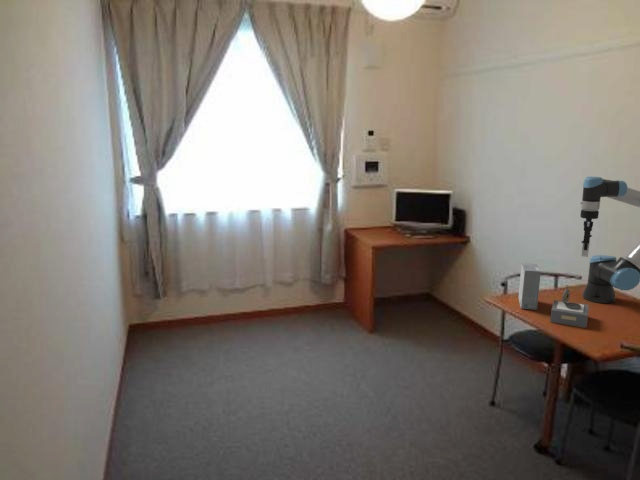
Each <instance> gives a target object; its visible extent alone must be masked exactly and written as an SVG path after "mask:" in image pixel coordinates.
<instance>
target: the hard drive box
mask: <svg viewBox="0 0 640 480" xmlns="http://www.w3.org/2000/svg"><path fill="white" fill-rule="evenodd" d="M541 274H542V271H541V270H540V268H539V266H538V264H537V263H530V262H529V263H527V262H521V266H520V277H519V287H518V288H519V289H518V301H519V306H520V309H522V310H535V311H537V310H538V303H539V293H540V283H541Z"/></svg>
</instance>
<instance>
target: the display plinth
mask: <svg viewBox="0 0 640 480" xmlns="http://www.w3.org/2000/svg"><path fill="white" fill-rule="evenodd" d="M567 303H572V302H570V301H568V302H567ZM575 303H576V304H579V305H581V308H579V309H572V308H568V307H566V306H565V304H564V303H563V302H562V300H556V299H554V300H553V302H552V307H551V309H550V320H549V321H550V323H553V324H560V325H566V326H573V327H578V328H585V329H587V326H588V318H589V306H590V305H589V304H584V303H577V302H575Z"/></svg>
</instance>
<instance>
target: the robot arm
mask: <svg viewBox="0 0 640 480" xmlns="http://www.w3.org/2000/svg"><path fill="white" fill-rule="evenodd" d="M581 197H582V199H581V201H580V205H581V210H580V219H585V220H583V231H584V233H583V240H581V244H582V247H581V257H583V258H584V257H585V258H588V257H589V252H590V251H589V250H590V243H591V237H593V235H592V233H591V232H592V231H593V226H594V221H593V220H597V219H598V218H599V214H600V211H599V210H600V205H601V198H609V199H612V200H615V201H617V202H621V203H625V204H628V205H631V206H634V207H637V208H640V190H638V189H634V188H630V187H628V184H627V183H626V182H625V180H619V179H617V180H610V179H605V178H603V177H601V176H586V177H585V178H584V182H583V184H582V196H581ZM588 268H589V269H588V277H587V278H588V279H587V283H586V286H585V288H584V290H583V291H582V298H583V299H584V300H586V301H590V302H594V303H596V304H597V303H598V304H612V303H615V302H616V294H615V289H618V290H620V291H630V290H632V289H633V290H634V289H635V288H636V287H637V286H638V285H639V283H640V242H638V244H636V245H635V246H634V247H633V248H632V249H631V251H630V252H629V253H628V254H627V255H625V256H620V257H619V258H618V259H617V257H616V256H614V255H606V254H605V255H601V254H600V255H599V254H598V255H597V254H596V255H592V256H591V257H590V261H589V267H588Z"/></svg>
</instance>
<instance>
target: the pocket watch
mask: <svg viewBox="0 0 640 480" xmlns="http://www.w3.org/2000/svg"><path fill="white" fill-rule="evenodd" d="M565 288H566V289H565V290H564V291H563V293H562V296H561V297H562V298H561V301H562V302H563V303H564V304H565V306H566V307H568V308H572V309H579V308H581V305H579V304H580V303H578V304H576V303H577V302H571V303H567V302H569V300H570V297H571V296H570V295H571V292H570V290H569V285H568V284H566V287H565Z"/></svg>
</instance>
